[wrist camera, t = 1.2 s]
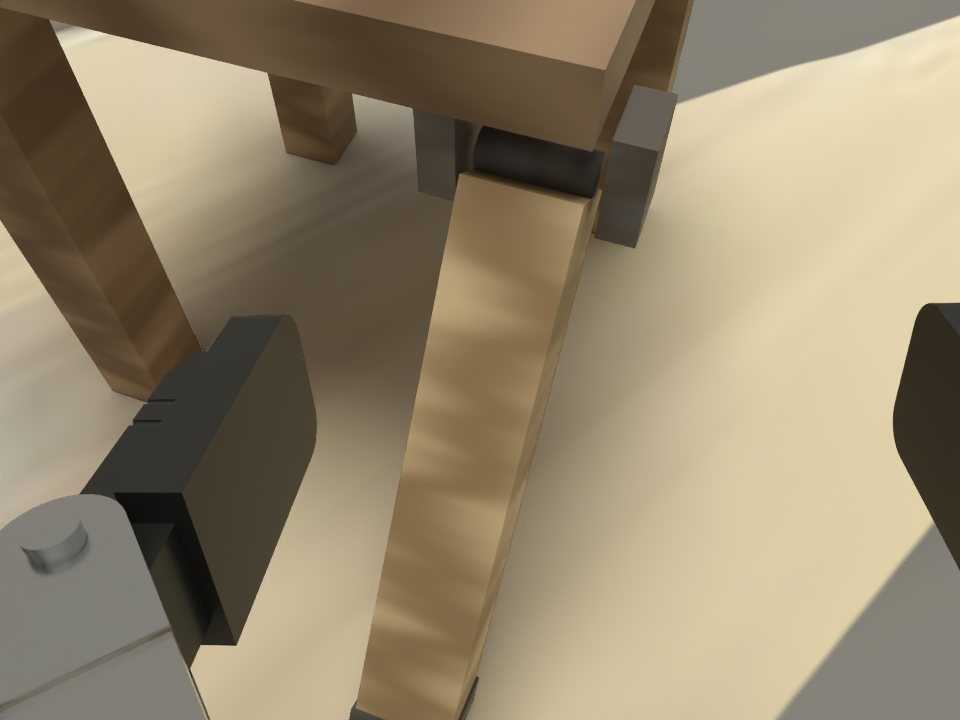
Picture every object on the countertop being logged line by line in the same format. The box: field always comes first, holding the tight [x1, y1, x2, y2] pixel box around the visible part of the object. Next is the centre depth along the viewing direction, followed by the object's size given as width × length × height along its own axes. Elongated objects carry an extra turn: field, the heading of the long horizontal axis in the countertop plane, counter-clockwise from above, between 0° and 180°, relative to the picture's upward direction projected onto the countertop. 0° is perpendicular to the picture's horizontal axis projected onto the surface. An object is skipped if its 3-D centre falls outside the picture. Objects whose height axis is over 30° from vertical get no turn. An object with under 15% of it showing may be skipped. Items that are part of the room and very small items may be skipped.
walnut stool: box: [0, 0, 694, 402], centre depth 32 cm, size 21×20×22 cm
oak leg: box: [349, 125, 606, 720], centre depth 23 cm, size 3×3×18 cm
